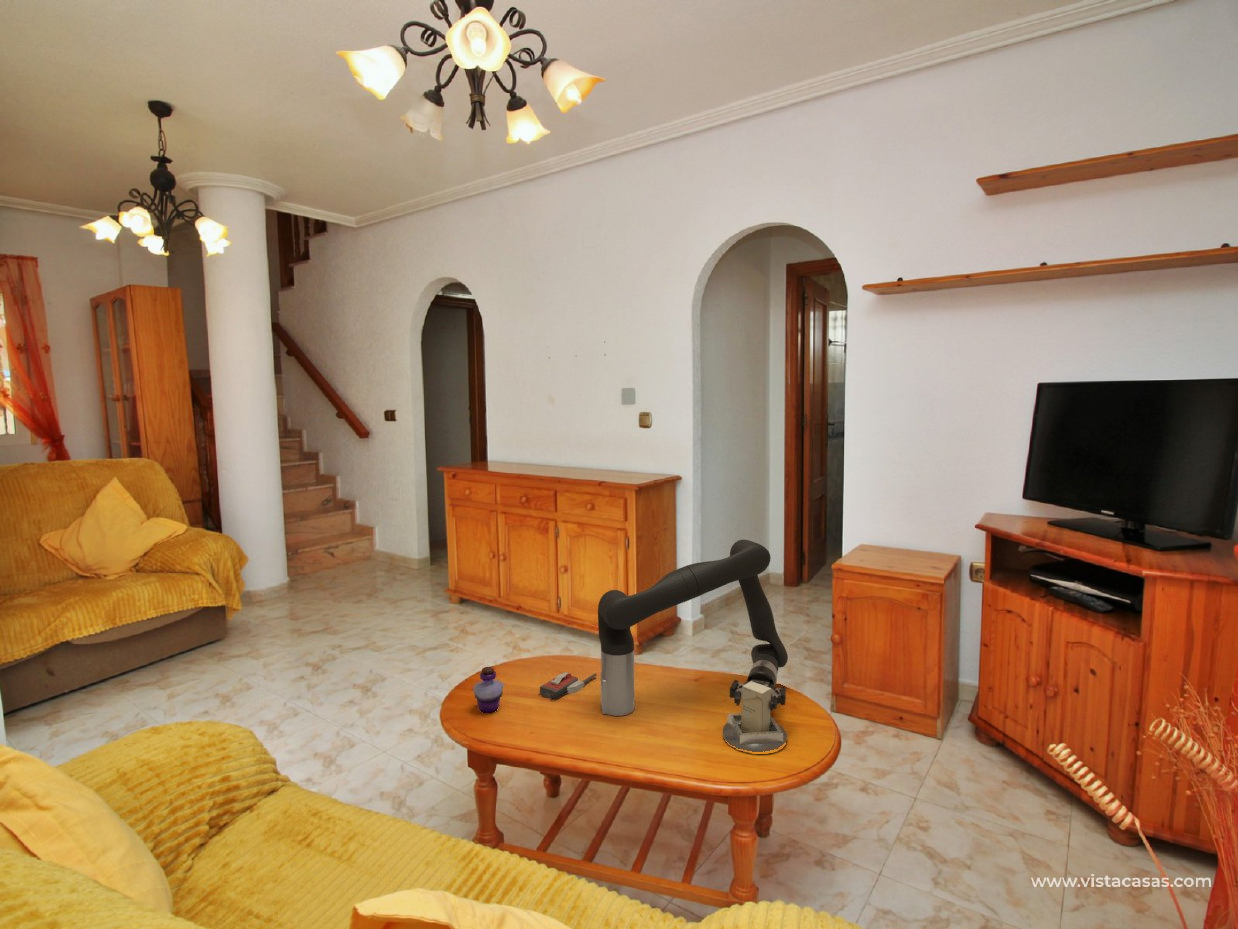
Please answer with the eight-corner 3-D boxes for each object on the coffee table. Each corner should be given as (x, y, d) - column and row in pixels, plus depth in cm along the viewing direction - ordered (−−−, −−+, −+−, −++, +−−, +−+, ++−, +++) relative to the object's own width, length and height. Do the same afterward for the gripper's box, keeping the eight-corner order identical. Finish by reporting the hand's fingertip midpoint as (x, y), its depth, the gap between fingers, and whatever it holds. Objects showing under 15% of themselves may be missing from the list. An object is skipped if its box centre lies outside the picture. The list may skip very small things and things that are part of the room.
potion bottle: (510, 706, 187) (509, 665, 186) (491, 719, 179) (490, 677, 178) (486, 699, 191) (485, 660, 190) (466, 712, 183) (465, 671, 182)
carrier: (732, 757, 160) (732, 741, 159) (716, 724, 176) (716, 710, 175) (796, 752, 161) (796, 737, 161) (774, 720, 177) (774, 706, 177)
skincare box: (740, 731, 169) (740, 685, 168) (750, 724, 172) (750, 680, 171) (761, 740, 165) (762, 693, 163) (771, 733, 168) (771, 687, 166)
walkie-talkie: (559, 705, 188) (599, 679, 205) (558, 690, 188) (599, 665, 204) (535, 697, 193) (576, 673, 210) (535, 683, 192) (576, 659, 209)
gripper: (736, 662, 184) (726, 686, 169) (789, 668, 179) (783, 694, 164) (736, 688, 185) (726, 714, 169) (788, 695, 180) (783, 723, 165)
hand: (754, 704), depth 167 cm, fingers open, 8 cm apart
